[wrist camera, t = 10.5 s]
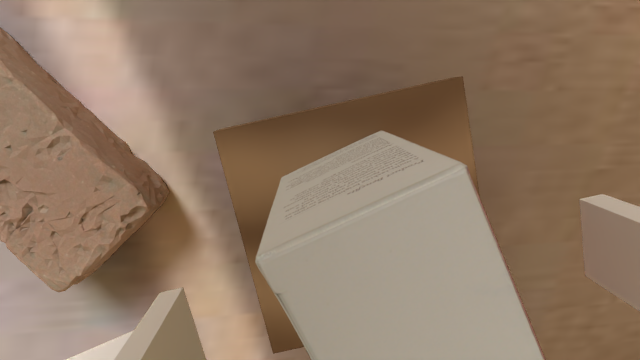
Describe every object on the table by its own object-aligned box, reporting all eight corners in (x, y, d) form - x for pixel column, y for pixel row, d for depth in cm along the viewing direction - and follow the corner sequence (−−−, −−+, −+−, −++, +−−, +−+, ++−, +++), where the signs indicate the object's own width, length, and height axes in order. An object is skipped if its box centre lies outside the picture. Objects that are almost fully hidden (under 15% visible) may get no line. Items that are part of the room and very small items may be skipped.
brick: (-103, 96, 26) (-189, 96, 22) (-19, 1, 25) (-91, -20, 21) (99, 269, 29) (61, 302, 25) (180, 190, 28) (157, 209, 24)
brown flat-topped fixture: (239, 121, 27) (213, 131, 19) (416, 82, 27) (462, 76, 19) (281, 285, 30) (273, 353, 22) (443, 249, 29) (494, 304, 22)
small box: (444, 266, 21) (579, 429, 11) (345, 310, 21) (386, 511, 11) (383, 125, 19) (473, 158, 9) (277, 175, 20) (249, 261, 9)
